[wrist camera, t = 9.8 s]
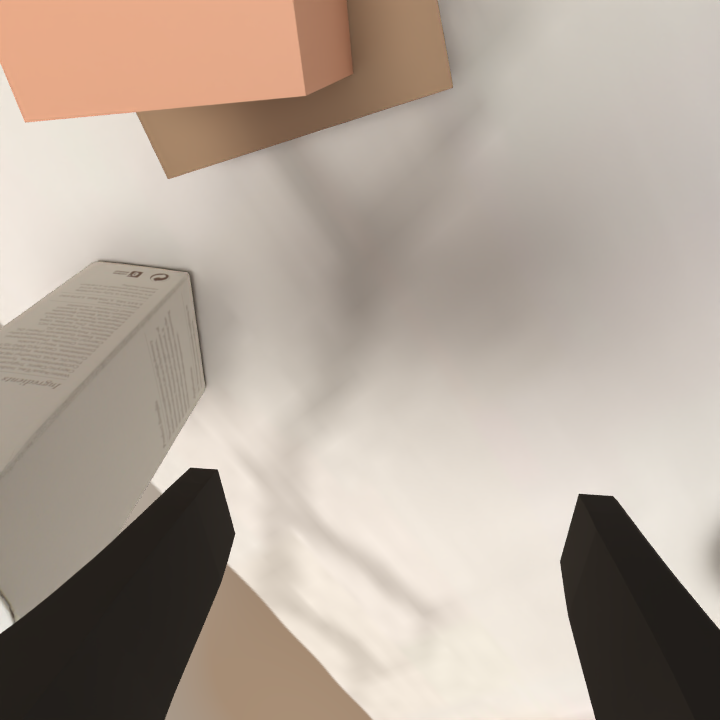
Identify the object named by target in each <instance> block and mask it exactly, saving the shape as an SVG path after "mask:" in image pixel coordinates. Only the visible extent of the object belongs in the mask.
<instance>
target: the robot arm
mask: <svg viewBox="0 0 720 720" xmlns="http://www.w3.org/2000/svg"><path fill="white" fill-rule="evenodd" d="M234 536H235V531H234V528H233V524H232V520H231V517H230V513H229V509H228V506H227V502H226V498H225V494H224V491H223V487H222V483H221V480H220V476H219V472H218V470H216V469H202V468H190V469H188V470H187V471H186V472H185V473H184V474H183V475H182V476H181V477H180V478H179V479H178V480H177V481H175V482H174V483H173V484H172V485H171V486H170V487H169V488H168V489H167V490H166V491H165V492H164V493H163V494H162V495H161V496H160V497H159V498H158V499H157V500H155V501H154V502H153V503H152V504H151V505H150V506H149V507H148V508H147V509H146V510H145V511H144V512H143V513H142V514H141V515H140V516H139V517H138V518H137V519H136V520H134V521H133V522H132V523H131V524H130V525H129V526H128V527H127V528H126V529H125V530H124V531H123V532H121V533H120V534H119V535H118V536H117V537H116V538H115V539H114V540H113V541H112V542H111V543H109V544H108V545H107V546H106V547H105V548H104V549H103V550H102V551H101V552H100V553H98V554H97V555H96V556H95V557H94V558H93V559H92V560H91V561H89V562H88V563H87V564H86V565H85V566H84V567H82V568H81V569H80V570H79V571H78V572H77V573H75V574H74V575H73V576H72V577H71V578H70V579H68V580H67V581H66V582H65V583H64V584H62V585H61V586H60V587H59V588H58V589H57V590H55V591H54V592H53V593H52V594H51V595H49V596H48V597H47V598H46V599H45V600H43V601H42V602H41V603H40V604H38V605H37V606H36V607H35V608H33V609H32V610H31V611H30V612H28V613H27V614H26V615H24V616H23V617H22V618H21V619H19V620H18V621H17V622H15V623H14V624H13V625H11V626H10V627H9V628H7V629H6V630H5V631H3V632H2V633H1V634H0V720H165V717H166V714H167V712H168V709H169V707H170V703H171V701H172V698H173V696H174V693H175V691H176V689H177V686H178V684H179V682H180V679H181V677H182V674H183V672H184V670H185V667H186V665H187V663H188V660H189V658H190V655H191V653H192V651H193V648H194V646H195V644H196V641H197V639H198V637H199V634H200V632H201V630H202V627H203V625H204V623H205V620H206V618H207V615H208V613H209V611H210V608H211V606H212V603H213V601H214V598H215V596H216V594H217V591H218V589H219V586H220V584H221V581H222V578H223V575H224V571H225V568H226V565H227V562H228V558H229V555H230V551H231V547H232V544H233V540H234ZM560 564H561V571H562V578H563V585H564V592H565V599H566V605H567V611H568V617H569V621H570V625H571V629H572V632H573V636H574V640H575V644H576V648H577V651H578V655H579V659H580V663H581V667H582V670H583V674H584V678H585V681H586V685H587V689H588V693H589V696H590V700H591V704H592V707H593V711H594V715H595V719H596V720H720V629H719V628H718V627H717V626H716V625H715V624H714V622H713V621H712V620H711V619H710V618H709V616H708V615H707V614H706V613H705V612H704V610H703V609H702V608H701V607H700V606H699V604H698V603H697V602H696V601H695V600H694V598H693V597H692V596H691V595H690V594H689V592H688V591H687V590H686V589H685V588H684V586H683V585H682V584H681V583H680V581H679V580H678V579H677V578H676V576H675V575H674V574H673V573H672V571H671V570H670V569H669V568H668V566H667V565H666V564H665V563H664V561H663V560H662V559H661V557H660V556H659V555H658V554H657V552H656V551H655V550H654V548H653V547H652V546H651V545H650V543H649V542H648V541H647V539H646V538H645V537H644V535H643V534H642V533H641V532H640V530H639V529H638V528H637V526H636V525H635V524H634V522H633V521H632V520H631V518H630V517H629V516H628V514H627V513H626V512H625V510H624V509H623V508H622V506H621V505H620V504H619V502H618V501H617V500H616V499H615V498H614V497H613V496H603V495H588V494H579V496H578V499H577V503H576V506H575V510H574V513H573V517H572V521H571V524H570V528H569V531H568V535H567V539H566V542H565V546H564V549H563V553H562V556H561V560H560Z"/></svg>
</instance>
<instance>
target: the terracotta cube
mask: <svg viewBox="0 0 720 720" xmlns="http://www.w3.org/2000/svg"><path fill="white" fill-rule="evenodd" d="M0 63H1V65H2V68H3V70H4V73H5V75H6V77H7V80H8V82H9V85H10V87H11V89H12V92H13V94H14V97H15V99H16V102H17V104H18V106H19V109H20V111H21V114H22V116H23V118H24V121H25V122H35V121H45V120H56V119H67V118H77V117H88V116H98V115H109V114H119V113H130V112H141V111H151V110H162V109H172V108H183V107H193V106H204V105H215V104H225V103H236V102H246V101H257V100H268V99H278V98H289V97H299V96H307V95H309V94H311V93H313V92H315V91H317V90H320V89H322V88H324V87H326V86H328V85H330V84H332V83H335V82H337V81H339V80H341V79H343V78H345V77H347V76H350V75H352V74H353V66H352V54H351V43H350V32H349V20H348V9H347V0H0Z"/></svg>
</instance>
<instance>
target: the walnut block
mask: <svg viewBox="0 0 720 720" xmlns="http://www.w3.org/2000/svg"><path fill="white" fill-rule="evenodd" d="M347 9H348V20H349V32H350V43H351V54H352V66H353V74H352V75H350V76H347V77H345V78H343V79H341V80H339V81H337V82H335V83H332V84H330V85H328V86H326V87H324V88H322V89H320V90H317V91H315V92H313V93H311V94H309V95H307V96H299V97H289V98H278V99H268V100H257V101H246V102H236V103H225V104H215V105H204V106H193V107H183V108H172V109H162V110H151V111H141V112H136V113H137V115H138V117H139V120H140V122H141V124H142V126H143V128H144V130H145V132H146V134H147V136H148V138H149V140H150V143H151V145H152V147H153V149H154V151H155V153H156V155H157V157H158V159H159V161H160V163H161V165H162V168H163V170H164V172H165V174H166V176H167V178H168V179H170V178H174V177H177V176H180V175H183V174H186V173H189V172H192V171H195V170H198V169H202V168H205V167H208V166H211V165H214V164H217V163H220V162H223V161H226V160H230V159H233V158H236V157H239V156H242V155H245V154H248V153H251V152H254V151H258V150H261V149H264V148H267V147H270V146H273V145H276V144H279V143H282V142H286V141H289V140H292V139H295V138H298V137H301V136H304V135H307V134H310V133H314V132H317V131H320V130H323V129H326V128H329V127H332V126H335V125H338V124H342V123H345V122H348V121H351V120H354V119H357V118H360V117H363V116H366V115H369V114H373V113H376V112H379V111H382V110H385V109H388V108H391V107H394V106H397V105H401V104H404V103H407V102H410V101H413V100H416V99H419V98H422V97H425V96H429V95H432V94H435V93H438V92H441V91H444V90H447V89H450V88H453V84H452V78H451V73H450V67H449V62H448V56H447V51H446V45H445V40H444V34H443V29H442V23H441V18H440V12H439V6H438V1H437V0H347Z"/></svg>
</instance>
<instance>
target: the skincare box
mask: <svg viewBox="0 0 720 720" xmlns="http://www.w3.org/2000/svg"><path fill="white" fill-rule="evenodd" d="M204 391H205V381H204V375H203V368H202V361H201V353H200V346H199V339H198V332H197V324H196V317H195V310H194V303H193V296H192V289H191V282H190V276H189V274H188V273H187V272H181V271H174V270H167V269H161V268H153V267H144V266H137V265H129V264H120V263H110V262H102V261H99V262H93V263H91V264H90V265H88V266H87V267H86V268H84V269H83V270H82V271H80V272H79V273H78V274H76V275H75V276H73V277H72V278H71V279H69V280H68V281H66V282H65V283H64V284H62V285H61V286H59V287H58V288H56V289H55V290H54V291H52V292H51V293H49V294H48V295H47V296H45V297H44V298H42V299H41V300H40V301H38V302H37V303H36V304H34V305H33V306H32V307H30V308H29V309H27V310H26V311H25V312H23V313H22V314H21V315H19V316H18V317H16V318H15V319H13V320H12V321H11V322H9V323H8V324H6V325H5V326H4V327H2V328H1V329H0V634H1V633H2V632H3V631H5V630H6V629H7V628H9V627H10V626H11V625H13V624H14V623H15V622H17V621H18V620H19V619H21V618H22V617H23V616H24V615H26V614H27V613H28V612H30V611H31V610H32V609H33V608H35V607H36V606H37V605H38V604H40V603H41V602H42V601H43V600H45V599H46V598H47V597H48V596H49V595H51V594H52V593H53V592H54V591H55V590H57V589H58V588H59V587H60V586H61V585H62V584H64V583H65V582H66V581H67V580H68V579H70V578H71V577H72V576H73V575H74V574H75V573H77V572H78V571H79V570H80V569H81V568H82V567H84V566H85V565H86V564H87V563H88V562H89V561H91V560H92V559H93V558H94V557H95V556H96V555H97V554H98V553H100V552H101V551H102V550H103V549H104V548H105V547H106V546H107V545H108V544H109V543H111V542H112V541H113V540H114V539H115V538H116V537H117V536H118V534H119V532H120V531H121V529H122V528H123V526H124V524H125V522H126V521H127V519H128V517H129V516H130V514H131V513H132V511H133V509H134V507H135V506H136V504H137V503H138V501H139V499H140V498H141V496H142V494H143V492H144V491H145V489H146V487H147V486H148V484H149V483H150V481H151V479H152V478H153V476H154V474H155V473H156V471H157V469H158V468H159V466H160V464H161V463H162V461H163V459H164V458H165V456H166V454H167V453H168V451H169V449H170V447H171V446H172V444H173V442H174V441H175V439H176V437H177V436H178V434H179V432H180V431H181V429H182V427H183V426H184V424H185V422H186V421H187V419H188V417H189V416H190V414H191V412H192V411H193V409H194V407H195V406H196V404H197V403H198V401H199V399H200V398H201V396H202V394H203V392H204Z"/></svg>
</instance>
